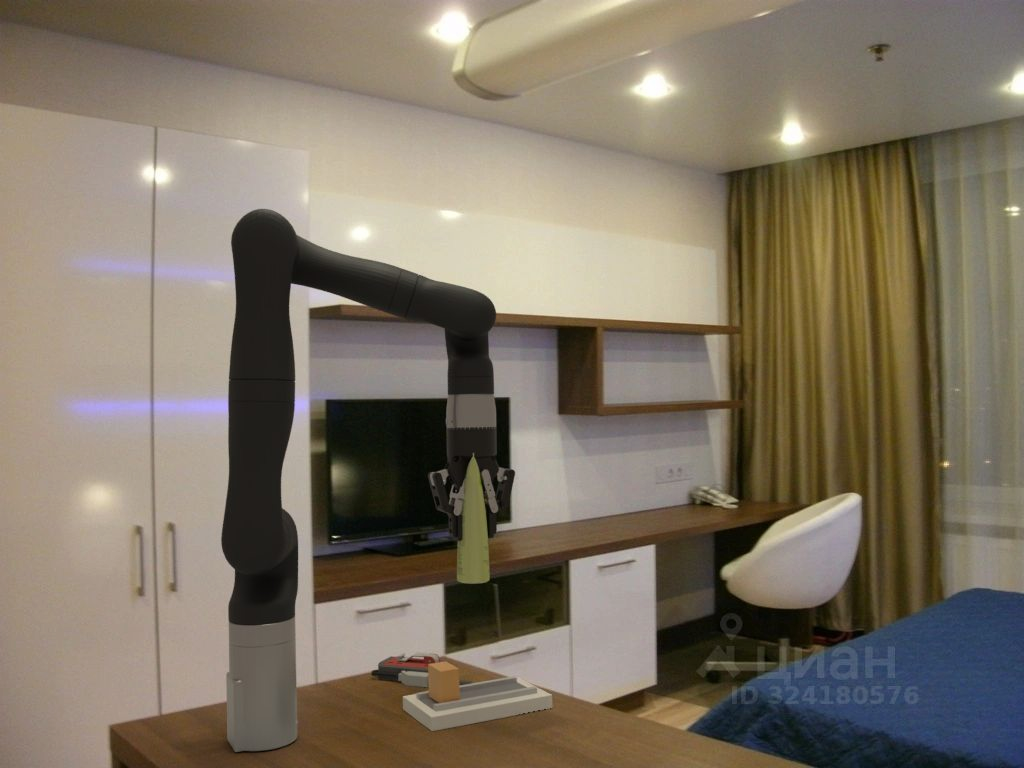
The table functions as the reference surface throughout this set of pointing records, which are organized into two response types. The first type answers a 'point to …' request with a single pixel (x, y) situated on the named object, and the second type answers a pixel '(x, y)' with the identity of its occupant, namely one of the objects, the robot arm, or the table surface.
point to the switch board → (478, 703)
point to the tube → (473, 532)
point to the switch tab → (443, 682)
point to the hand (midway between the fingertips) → (473, 538)
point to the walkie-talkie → (409, 669)
